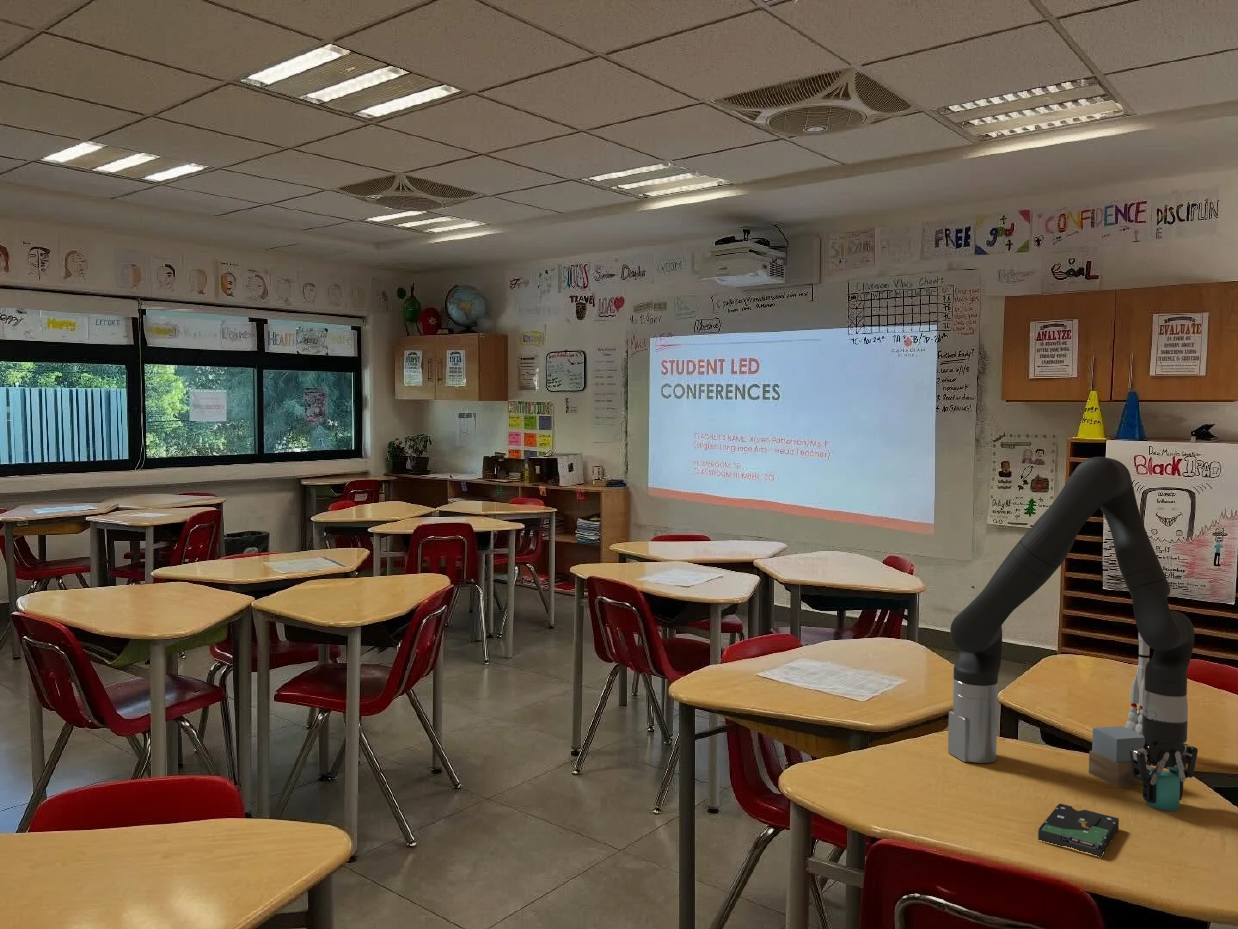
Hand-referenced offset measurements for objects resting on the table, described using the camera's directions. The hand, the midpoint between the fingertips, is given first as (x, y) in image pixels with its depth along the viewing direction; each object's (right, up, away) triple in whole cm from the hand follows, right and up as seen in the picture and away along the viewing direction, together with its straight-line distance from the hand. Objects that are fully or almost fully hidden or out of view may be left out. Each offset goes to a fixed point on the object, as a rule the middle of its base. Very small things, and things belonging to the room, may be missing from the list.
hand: (1162, 800), depth 173 cm
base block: (-1, -1, +13) cm, 13 cm away
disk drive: (-23, -2, -13) cm, 27 cm away
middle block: (-1, +4, +13) cm, 14 cm away
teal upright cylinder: (0, -1, 0) cm, 1 cm away
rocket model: (+14, 0, +30) cm, 33 cm away
